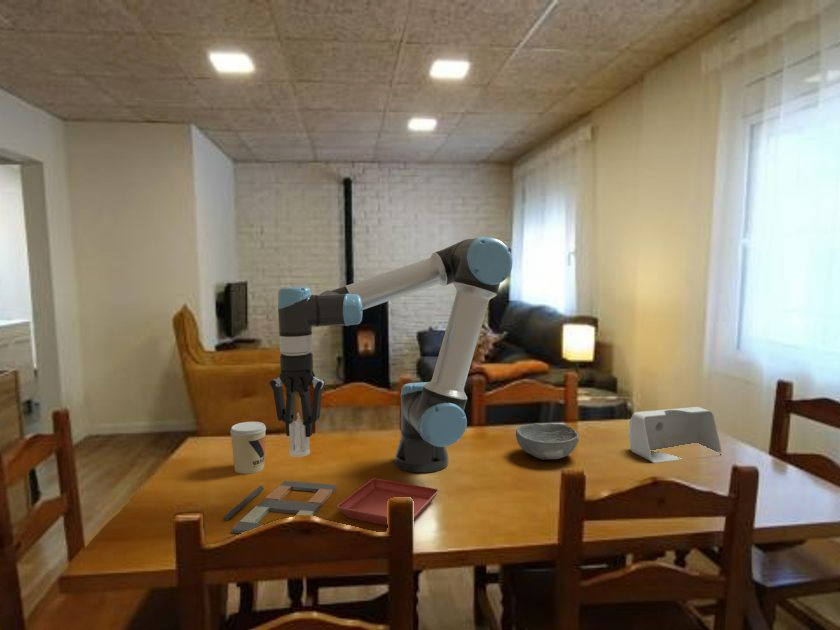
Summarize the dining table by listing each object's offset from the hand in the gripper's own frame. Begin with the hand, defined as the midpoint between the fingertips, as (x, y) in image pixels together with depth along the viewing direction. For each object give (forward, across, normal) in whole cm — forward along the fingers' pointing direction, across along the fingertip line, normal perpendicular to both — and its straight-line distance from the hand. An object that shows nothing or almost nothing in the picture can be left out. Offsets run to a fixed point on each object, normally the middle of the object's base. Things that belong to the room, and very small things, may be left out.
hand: (299, 449), depth 131 cm
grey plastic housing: (+14, -96, -52) cm, 110 cm away
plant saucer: (+13, -22, +2) cm, 26 cm away
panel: (+12, 0, +6) cm, 13 cm away
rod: (+12, +12, +6) cm, 18 cm away
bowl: (+13, -60, -40) cm, 73 cm away
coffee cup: (+12, +22, -15) cm, 29 cm away
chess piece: (+1, 0, 0) cm, 1 cm away
